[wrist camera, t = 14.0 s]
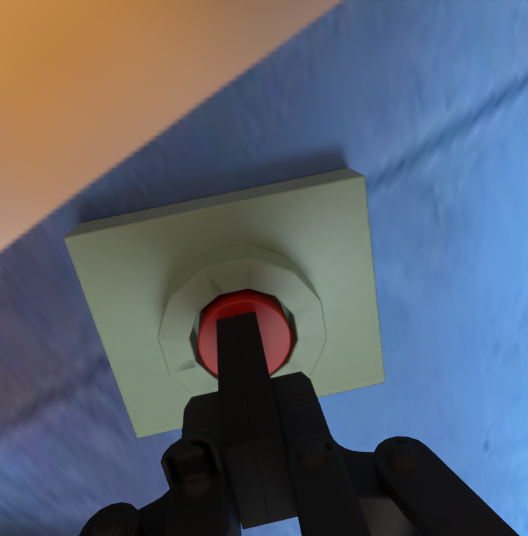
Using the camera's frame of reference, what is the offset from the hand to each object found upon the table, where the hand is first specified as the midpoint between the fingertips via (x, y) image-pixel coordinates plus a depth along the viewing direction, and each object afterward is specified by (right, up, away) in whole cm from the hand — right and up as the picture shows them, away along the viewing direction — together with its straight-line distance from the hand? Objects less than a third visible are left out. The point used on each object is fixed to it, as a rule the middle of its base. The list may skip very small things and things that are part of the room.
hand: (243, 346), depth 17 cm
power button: (0, +1, +2) cm, 2 cm away
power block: (0, +2, +4) cm, 5 cm away
